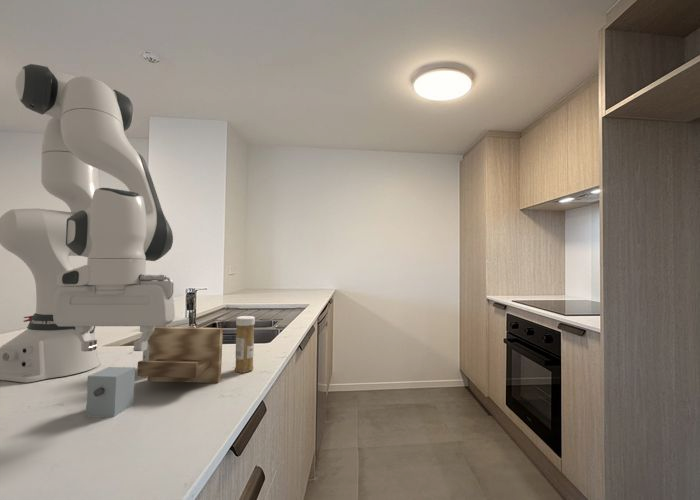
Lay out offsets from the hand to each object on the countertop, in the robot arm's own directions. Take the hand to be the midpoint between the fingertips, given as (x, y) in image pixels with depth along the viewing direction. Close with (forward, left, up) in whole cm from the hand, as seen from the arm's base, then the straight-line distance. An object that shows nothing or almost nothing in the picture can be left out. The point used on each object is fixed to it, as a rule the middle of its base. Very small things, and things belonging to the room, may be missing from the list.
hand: (114, 350), depth 60 cm
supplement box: (-4, +23, -11) cm, 26 cm away
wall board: (+5, +12, -11) cm, 17 cm away
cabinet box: (-1, 0, -11) cm, 11 cm away
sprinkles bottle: (+16, +23, -11) cm, 31 cm away
